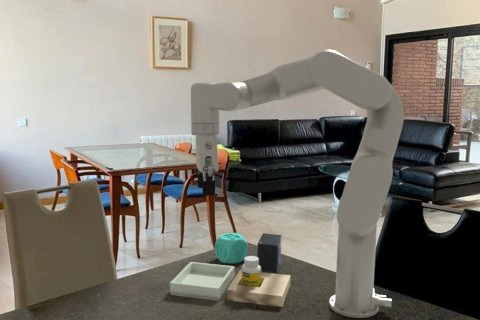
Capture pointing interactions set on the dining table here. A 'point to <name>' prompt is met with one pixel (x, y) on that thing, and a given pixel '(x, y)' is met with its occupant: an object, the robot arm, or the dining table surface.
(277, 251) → the small box
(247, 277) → the supplement bottle
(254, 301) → the beige flat square frame
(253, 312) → the dining table surface
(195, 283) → the tray
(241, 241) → the decorative dice
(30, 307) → the dining table surface
